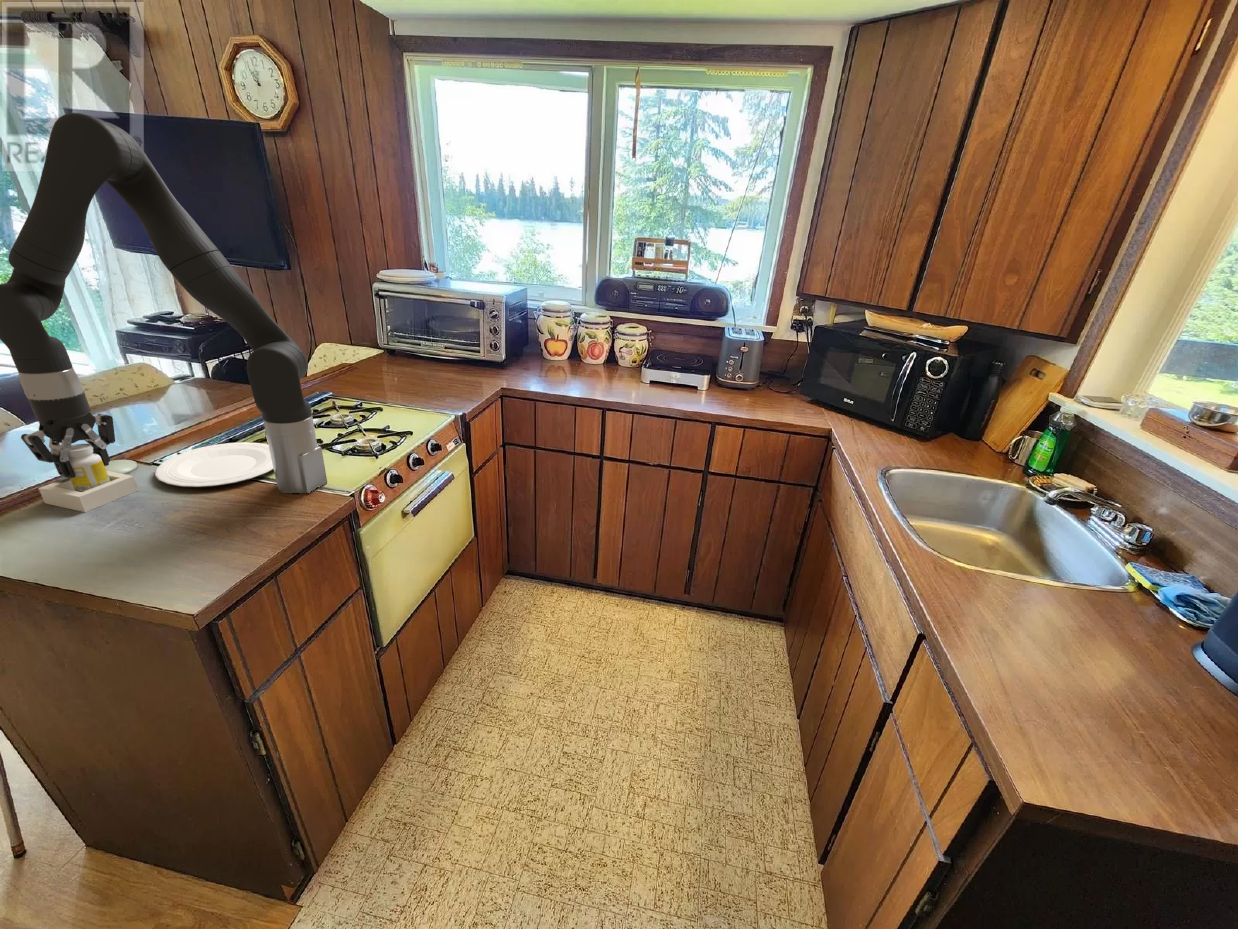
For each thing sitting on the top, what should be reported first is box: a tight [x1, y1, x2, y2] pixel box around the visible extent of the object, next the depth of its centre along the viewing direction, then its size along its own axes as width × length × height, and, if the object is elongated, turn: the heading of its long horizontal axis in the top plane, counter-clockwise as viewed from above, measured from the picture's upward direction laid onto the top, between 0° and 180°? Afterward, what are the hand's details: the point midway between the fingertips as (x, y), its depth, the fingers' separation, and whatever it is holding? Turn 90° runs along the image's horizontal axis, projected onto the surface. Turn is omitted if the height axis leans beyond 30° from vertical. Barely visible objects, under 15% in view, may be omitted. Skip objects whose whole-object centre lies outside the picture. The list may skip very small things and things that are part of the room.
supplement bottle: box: [67, 443, 110, 492], centre depth 102 cm, size 5×5×10 cm
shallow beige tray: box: [38, 470, 139, 513], centre depth 104 cm, size 10×10×4 cm
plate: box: [154, 441, 274, 488], centre depth 121 cm, size 25×25×2 cm
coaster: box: [105, 459, 138, 475], centre depth 115 cm, size 9×9×1 cm
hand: (87, 470), depth 102 cm, fingers closed on supplement bottle, 5 cm apart
